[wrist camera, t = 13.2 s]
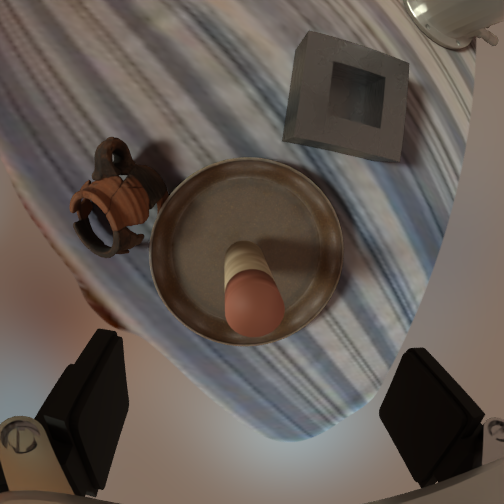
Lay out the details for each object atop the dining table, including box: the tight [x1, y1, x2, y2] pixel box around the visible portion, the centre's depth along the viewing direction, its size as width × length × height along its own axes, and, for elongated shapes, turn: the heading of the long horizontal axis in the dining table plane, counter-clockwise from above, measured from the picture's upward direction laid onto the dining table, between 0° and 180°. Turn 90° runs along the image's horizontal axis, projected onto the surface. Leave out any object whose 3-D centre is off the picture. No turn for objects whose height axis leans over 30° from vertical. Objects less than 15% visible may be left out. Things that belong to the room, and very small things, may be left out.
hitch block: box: [282, 31, 409, 162], centre depth 29 cm, size 11×11×6 cm
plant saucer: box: [149, 157, 344, 346], centre depth 34 cm, size 21×21×3 cm
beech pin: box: [224, 240, 285, 337], centre depth 27 cm, size 4×4×12 cm
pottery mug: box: [70, 137, 169, 258], centre depth 30 cm, size 12×10×8 cm
